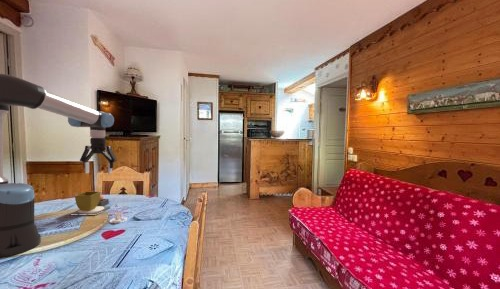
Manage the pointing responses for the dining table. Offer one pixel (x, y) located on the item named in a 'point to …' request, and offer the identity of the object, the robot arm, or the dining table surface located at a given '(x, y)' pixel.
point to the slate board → (93, 211)
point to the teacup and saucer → (118, 218)
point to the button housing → (103, 202)
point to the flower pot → (87, 200)
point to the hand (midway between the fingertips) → (98, 173)
